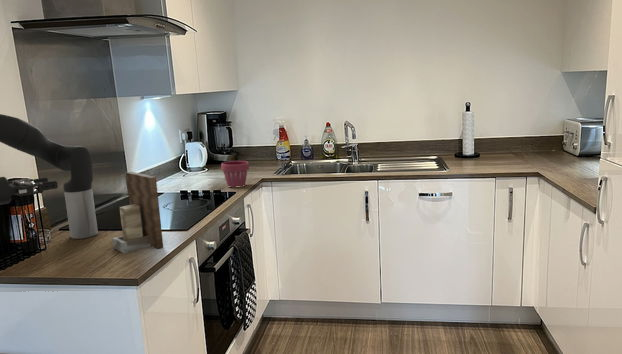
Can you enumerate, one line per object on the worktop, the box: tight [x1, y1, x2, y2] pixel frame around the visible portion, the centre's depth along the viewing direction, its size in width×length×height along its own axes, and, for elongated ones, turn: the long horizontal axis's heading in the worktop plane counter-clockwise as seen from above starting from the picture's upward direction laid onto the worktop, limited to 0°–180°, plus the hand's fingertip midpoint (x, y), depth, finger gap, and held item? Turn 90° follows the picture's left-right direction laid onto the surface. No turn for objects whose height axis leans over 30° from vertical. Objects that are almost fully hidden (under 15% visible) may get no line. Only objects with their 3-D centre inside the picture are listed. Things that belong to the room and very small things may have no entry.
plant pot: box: [220, 160, 250, 187], centre depth 251 cm, size 14×14×13 cm
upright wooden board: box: [112, 171, 164, 255], centre depth 159 cm, size 18×11×24 cm, turn 45°
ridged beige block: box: [119, 204, 143, 241], centre depth 160 cm, size 4×6×14 cm
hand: (52, 182), depth 141 cm, fingers open, 8 cm apart
